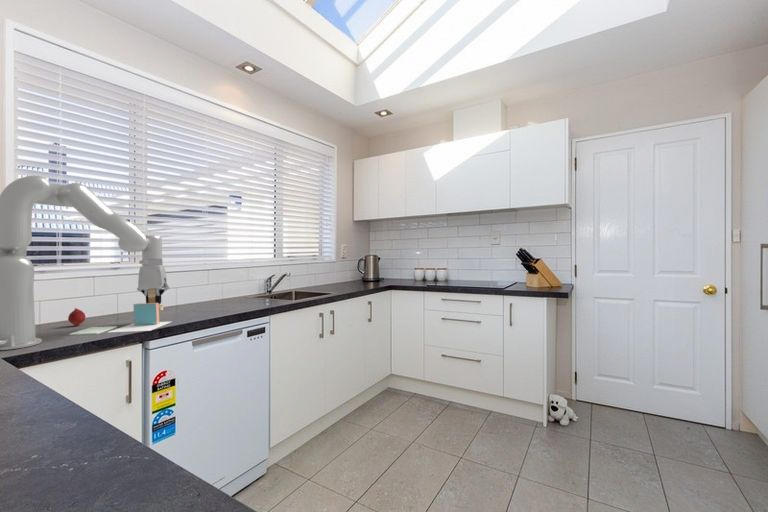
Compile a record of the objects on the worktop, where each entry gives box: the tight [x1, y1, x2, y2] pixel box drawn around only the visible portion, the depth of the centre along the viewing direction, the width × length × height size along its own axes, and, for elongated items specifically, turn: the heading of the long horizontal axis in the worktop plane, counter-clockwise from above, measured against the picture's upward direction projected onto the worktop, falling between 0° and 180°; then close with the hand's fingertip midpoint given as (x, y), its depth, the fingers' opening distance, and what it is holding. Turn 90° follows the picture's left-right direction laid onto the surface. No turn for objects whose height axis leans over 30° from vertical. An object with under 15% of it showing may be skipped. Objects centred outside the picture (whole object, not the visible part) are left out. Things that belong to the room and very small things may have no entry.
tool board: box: [68, 325, 118, 336], centre depth 144 cm, size 12×10×1 cm
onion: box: [67, 307, 86, 327], centre depth 159 cm, size 6×6×8 cm
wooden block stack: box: [148, 289, 164, 312], centre depth 160 cm, size 3×6×10 cm, turn 96°
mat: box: [108, 321, 171, 333], centre depth 150 cm, size 18×16×1 cm
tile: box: [133, 302, 160, 326], centre depth 154 cm, size 2×9×9 cm, turn 96°
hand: (153, 304), depth 160 cm, fingers closed on wooden block stack, 3 cm apart
